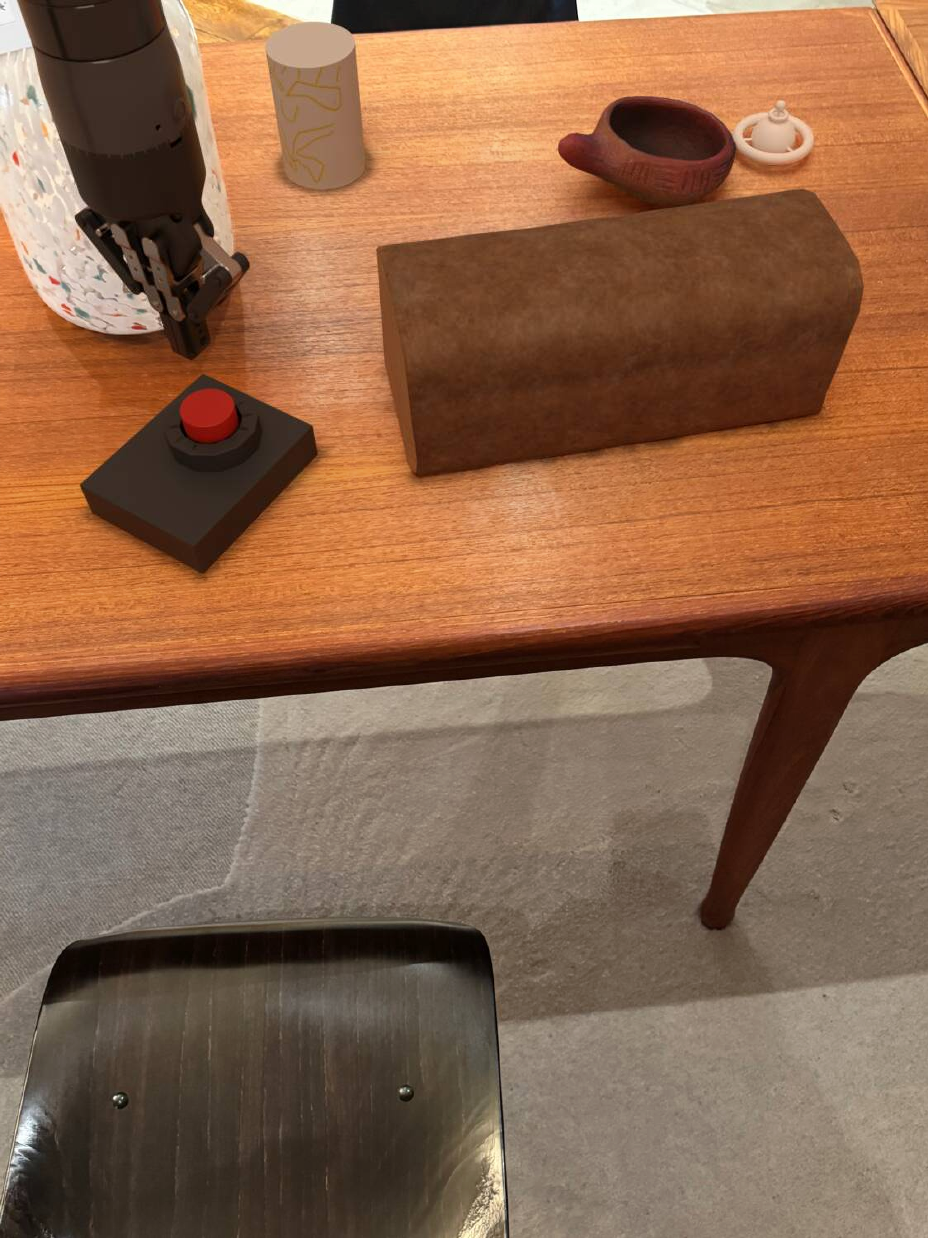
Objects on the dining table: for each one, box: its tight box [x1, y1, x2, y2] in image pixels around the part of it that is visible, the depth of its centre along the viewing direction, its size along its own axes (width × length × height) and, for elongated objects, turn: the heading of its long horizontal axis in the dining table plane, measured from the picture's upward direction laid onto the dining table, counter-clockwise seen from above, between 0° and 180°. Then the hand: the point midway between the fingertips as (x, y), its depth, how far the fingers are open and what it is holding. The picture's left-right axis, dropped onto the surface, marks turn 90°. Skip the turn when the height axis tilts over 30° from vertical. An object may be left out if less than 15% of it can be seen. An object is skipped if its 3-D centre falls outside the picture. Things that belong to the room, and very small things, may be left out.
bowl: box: [557, 95, 737, 208], centre depth 99 cm, size 16×13×8 cm
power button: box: [180, 389, 238, 443], centre depth 79 cm, size 4×4×2 cm
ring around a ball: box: [731, 99, 815, 166], centre depth 104 cm, size 8×6×8 cm
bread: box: [375, 188, 865, 477], centre depth 82 cm, size 14×34×14 cm, turn 102°
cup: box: [264, 21, 367, 191], centre depth 101 cm, size 8×8×12 cm
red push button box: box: [79, 373, 319, 574], centre depth 80 cm, size 14×11×5 cm
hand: (192, 349), depth 73 cm, fingers closed
